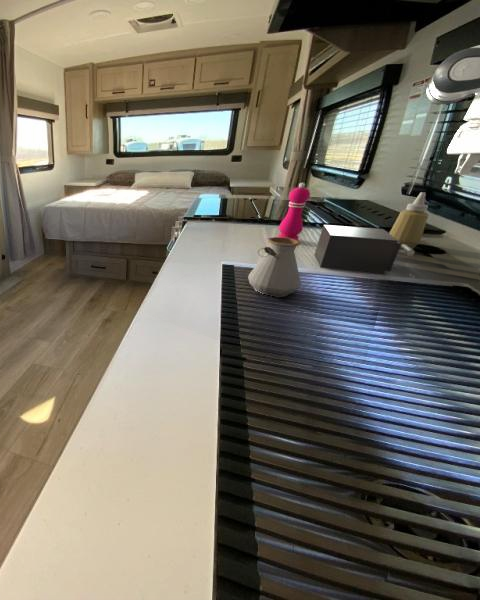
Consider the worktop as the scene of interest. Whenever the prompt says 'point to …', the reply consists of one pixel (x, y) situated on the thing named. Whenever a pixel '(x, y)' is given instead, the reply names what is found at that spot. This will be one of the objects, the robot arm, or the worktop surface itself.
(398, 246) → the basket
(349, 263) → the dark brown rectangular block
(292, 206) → the pepper mill
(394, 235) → the squeeze bottle
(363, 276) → the worktop surface
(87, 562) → the worktop surface
